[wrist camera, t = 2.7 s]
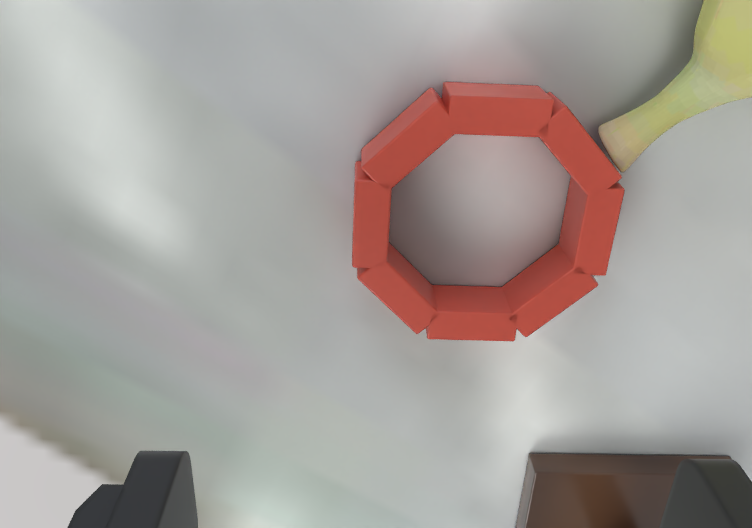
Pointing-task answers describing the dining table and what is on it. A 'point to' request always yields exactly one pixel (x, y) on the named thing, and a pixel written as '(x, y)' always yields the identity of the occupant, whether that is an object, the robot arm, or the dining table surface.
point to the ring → (538, 281)
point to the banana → (691, 81)
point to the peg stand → (597, 490)
